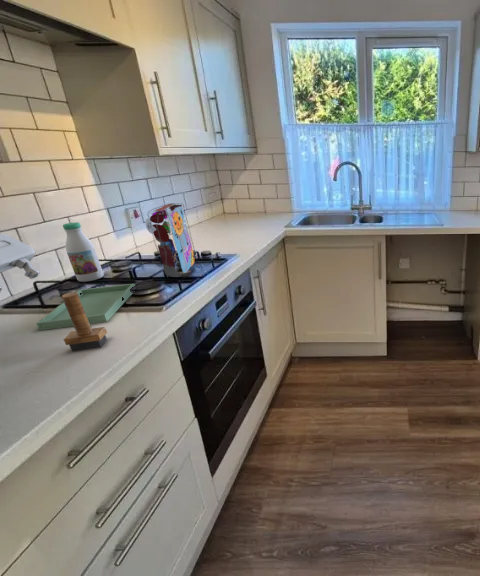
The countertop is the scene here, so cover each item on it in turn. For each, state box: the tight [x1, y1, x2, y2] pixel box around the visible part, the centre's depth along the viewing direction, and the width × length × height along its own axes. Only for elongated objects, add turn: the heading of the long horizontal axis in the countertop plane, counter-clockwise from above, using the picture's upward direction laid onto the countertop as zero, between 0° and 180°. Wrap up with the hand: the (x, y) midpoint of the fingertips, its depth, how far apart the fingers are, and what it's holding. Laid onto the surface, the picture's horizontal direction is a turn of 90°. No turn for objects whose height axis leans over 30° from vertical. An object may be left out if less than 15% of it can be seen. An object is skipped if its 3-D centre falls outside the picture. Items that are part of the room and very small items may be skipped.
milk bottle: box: [62, 221, 104, 283], centre depth 126 cm, size 8×8×20 cm
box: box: [145, 202, 198, 282], centre depth 124 cm, size 25×6×24 cm, turn 9°
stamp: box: [61, 291, 108, 352], centre depth 84 cm, size 7×4×14 cm, turn 105°
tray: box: [36, 283, 136, 331], centre depth 107 cm, size 16×24×2 cm, turn 16°
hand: (17, 283), depth 81 cm, fingers open, 8 cm apart
